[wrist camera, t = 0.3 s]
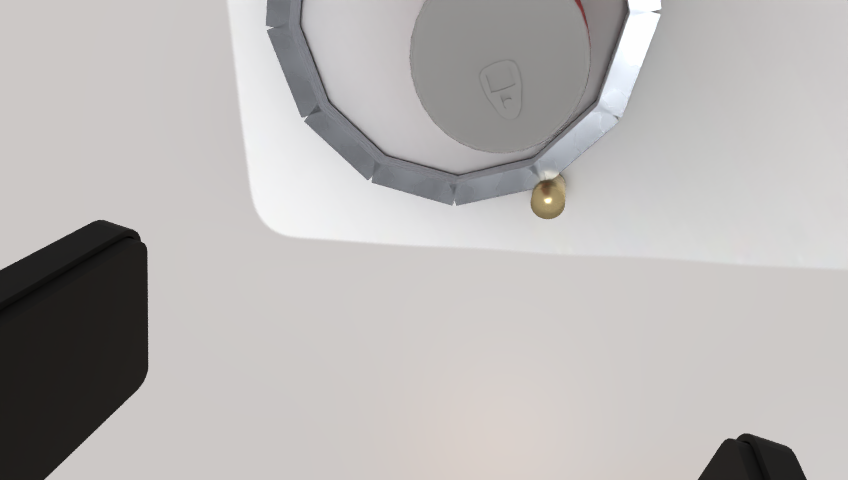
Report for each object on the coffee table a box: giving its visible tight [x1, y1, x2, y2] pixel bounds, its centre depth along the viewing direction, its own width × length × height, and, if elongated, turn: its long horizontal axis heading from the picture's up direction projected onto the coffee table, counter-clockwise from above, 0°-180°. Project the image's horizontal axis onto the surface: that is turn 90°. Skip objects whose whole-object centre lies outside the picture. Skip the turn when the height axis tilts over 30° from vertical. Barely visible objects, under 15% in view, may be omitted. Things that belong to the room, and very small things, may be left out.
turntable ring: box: [266, 0, 661, 219], centre depth 32 cm, size 22×22×3 cm
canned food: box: [410, 0, 591, 153], centre depth 29 cm, size 8×8×11 cm
